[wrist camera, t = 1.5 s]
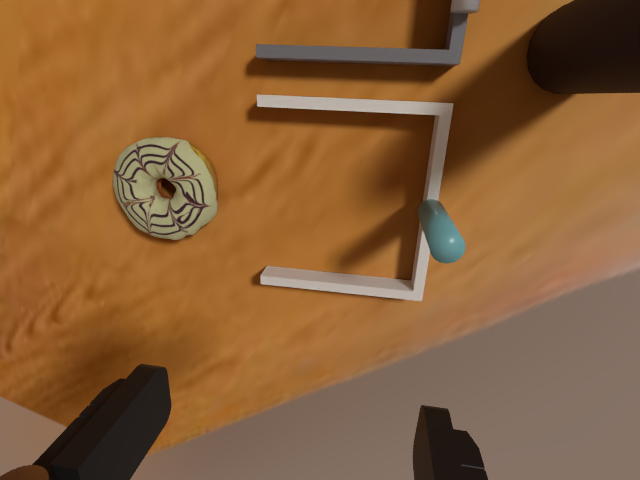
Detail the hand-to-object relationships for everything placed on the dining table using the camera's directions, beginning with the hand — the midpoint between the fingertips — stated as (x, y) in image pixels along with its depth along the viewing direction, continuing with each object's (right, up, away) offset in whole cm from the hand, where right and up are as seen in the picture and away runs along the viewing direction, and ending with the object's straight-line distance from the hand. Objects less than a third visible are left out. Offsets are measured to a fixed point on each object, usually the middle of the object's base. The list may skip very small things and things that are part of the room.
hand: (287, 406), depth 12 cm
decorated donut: (-14, +11, +29) cm, 34 cm away
